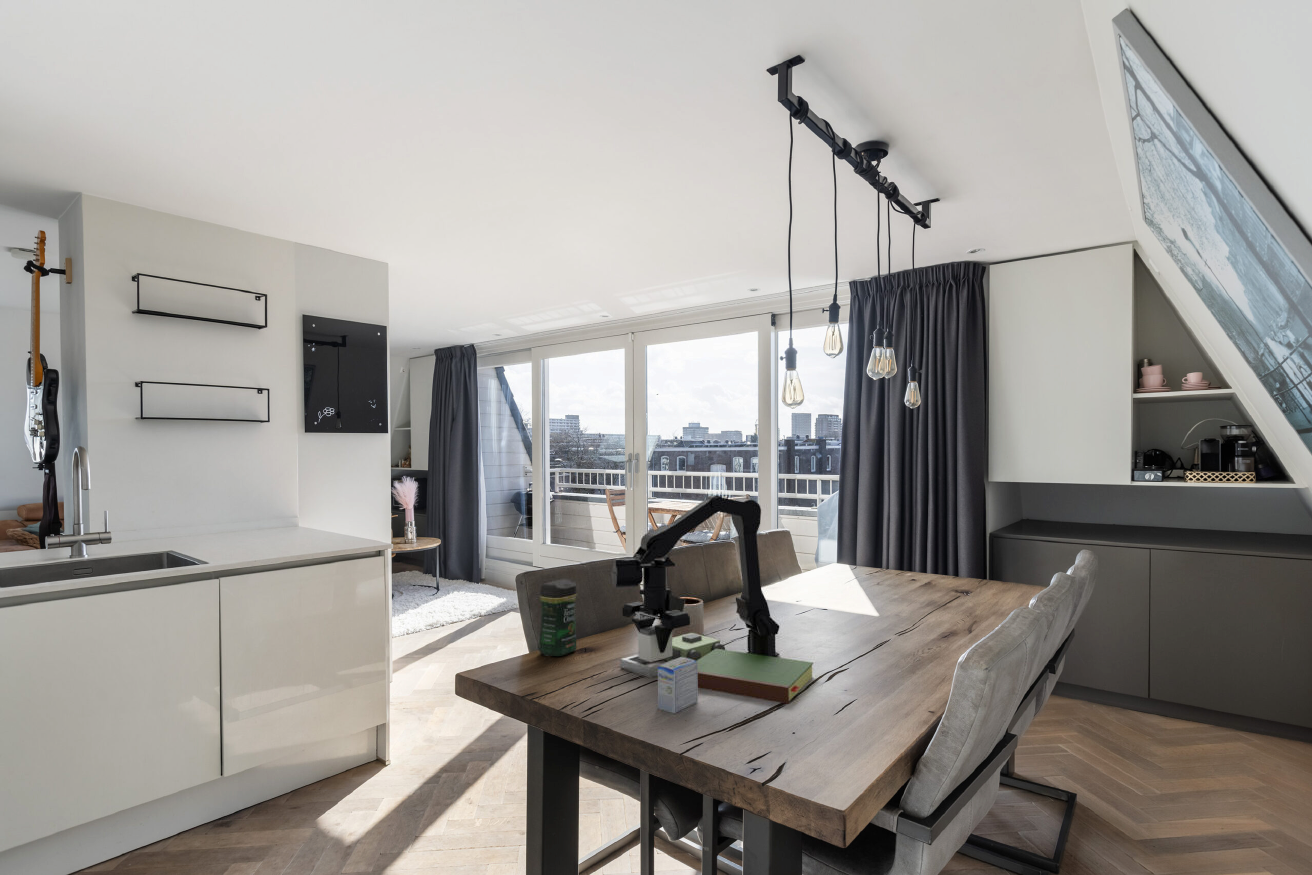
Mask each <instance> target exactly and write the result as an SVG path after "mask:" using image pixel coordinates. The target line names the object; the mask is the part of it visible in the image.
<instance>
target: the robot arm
mask: <svg viewBox="0 0 1312 875" xmlns="http://www.w3.org/2000/svg"><path fill="white" fill-rule="evenodd" d="M717 513H723V514H727V515H730V518H731V521H732V524H733V527H734V529H735V531H736V533H737V536H738V547H739V549H738V550H739V560H740V571H741V582H742V592H741V595H740V597H739V596H736V597H735V602H736V614H738V616H739V619H740V620H741V621H742V622H744V624H745V627H746V629H748V630H747V631H748V632H747V633H748V634H747V635H746V636H747V640H746V641H747V652H745V653H750V654H757V655H764V656H771V657H779V656H780V653H779V652H777V651H776V650H777V649H776V635H778V634H779V630H780V625H779V624H778V623H777V622H776V621H775V620H774V619H773V618H772V617H771V613H770V608H769V604H768V602H767V600H766V597H765V595H764V592H763V590H762V583H761V581H762V580H761V570H760V559H759V556H760V555H759V549H758V548H759V547H758V531H759V529H760V526H761V516H762V509H761V505H760V503H758V501H756V500H753V499H749V498H737V499H731V498H725V497H722V496H720V495H714V494H712V495H711V494H710V495H708V496H707V497H706V498H705V499H704V500H703V501H701V502H700V503H698V504H697V505H695V506H694V507H692V508H691V509H690V510H688V511H687V512H685V513H684V514H682V515H681V516H680V517H678V518H677V519H675V520H673V521H672V522H671V523H669V524H667V525H664V526H660V527H658V528H655V529H653V530H651V531H649V532H647V533H646V534H644V535H643V536H642V538H641V540H640V546H639V547H638V549H637V550H636V552H635V553H634V554H633V555H632V558H624V559H623V558H614V559H613V564H612V570H611V573H610V574H611V576H610V577H611V584H612V587H613V588H614V589H619V588H621V589H623V588H637V587H638V586H639V585H640V584H642V582H643V584H642V586H643V587H642V588H643V589H639V595H642V598H643V601H639V600H638V601H633V602H629V603H625V604H624V605H623V607H622V609H621V610H622V611H621V612H622V617H626V618H631V622H632V623H633V624H634V626H635V628H636V629H637V631H638V633H639V632H640V629H642V628H647V627H651V626H654V627H655V632H656V637H657V642H658V647H659V650H660V653H664V652H665V649H666V646H667V643H668V640H669V637H670V635H671V632H672V630H673V629H676V628H680V627H684V626H688V625H690V616H689V615H688V613H685V612H683V609H684V605H685V599H682V598H679V597H678V596H675V595H672V590H671V588H670V589H669V588H668V584H667V583H668V580H667V579H668V576H667V573H668V572H667V569H668V567H675V566H676V563H675V562H673V561H672V559H671V558H670V556H668V553H670V552H671V551H672V550H673V549H674V548H675V546H676V545H677V544H678V542H679V540H681V539H682V538H683V537H685V536H686V535H688V533H691V531H693V530H694V529H695V528H697V527H699V526H700V525H702V524H703V523H704V522H706V521H707V520H708V519H710V518H711V517H713V516H714V515H716V514H717ZM673 610H679V611H674V612H669V613H667V611H673ZM632 616H633V618H632ZM656 620H659V621H660V623H659V624H660V625H659V624H656V626H655V625H653V624H654V623H655V621H656Z"/></svg>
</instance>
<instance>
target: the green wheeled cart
mask: <svg viewBox="0 0 1312 875" xmlns="http://www.w3.org/2000/svg"><path fill="white" fill-rule="evenodd" d="M715 649H722V650H726V646H725V645H724V644H721V640H720V639H717V638H712V637H709V636H705V635H698V634H695V633H689V634H682V635H681V636H678V637H674V638H672V656H671V657H667V658H664V659H663V660H665V661H667V662H668V661H672V660H674V659H677V658H680V657H684V658H688V659H692V660H695V661H697V660H699V659H700V658H702V657H704V656H705V655H707V654H708V653H710V652H711V651H713V650H715Z"/></svg>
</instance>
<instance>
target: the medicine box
mask: <svg viewBox="0 0 1312 875" xmlns="http://www.w3.org/2000/svg"><path fill="white" fill-rule="evenodd" d="M666 662H667V663H665V662H663V663H664V664H662V665H660V666H658V675H657V708H658V709H659V710H661V711H664V712H668V713H670V714H676V713H678V712H680V711H682V710H684V709H686V708H688V707H690V706H692V705H694V704H696V703H698V700H699V699H698V697H699V695H698V692H699V691H698V690H699V688H698V662H697V661H695V660H692V659H688V658H684V657H680V658H677V659H674V660H672V661H669V662H668V661H666Z"/></svg>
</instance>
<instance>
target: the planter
mask: <svg viewBox="0 0 1312 875" xmlns="http://www.w3.org/2000/svg"><path fill="white" fill-rule="evenodd" d="M679 598H682V599H685V605H684V609H683V612H685V613H688V615H689V616H690V625H688V626H684V627H680V628H676V629H673V630H672V637H673V638H674V637H678V636H681V635H682V634H689V633H695V634H698V635H702V636H704V632H705V625H704V623H705V622H704V601H703V599H701V598H696V597H689V596H683V597H682V596H681V597H679ZM674 611H679V610H673V611H667V613H669V612H674Z"/></svg>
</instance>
